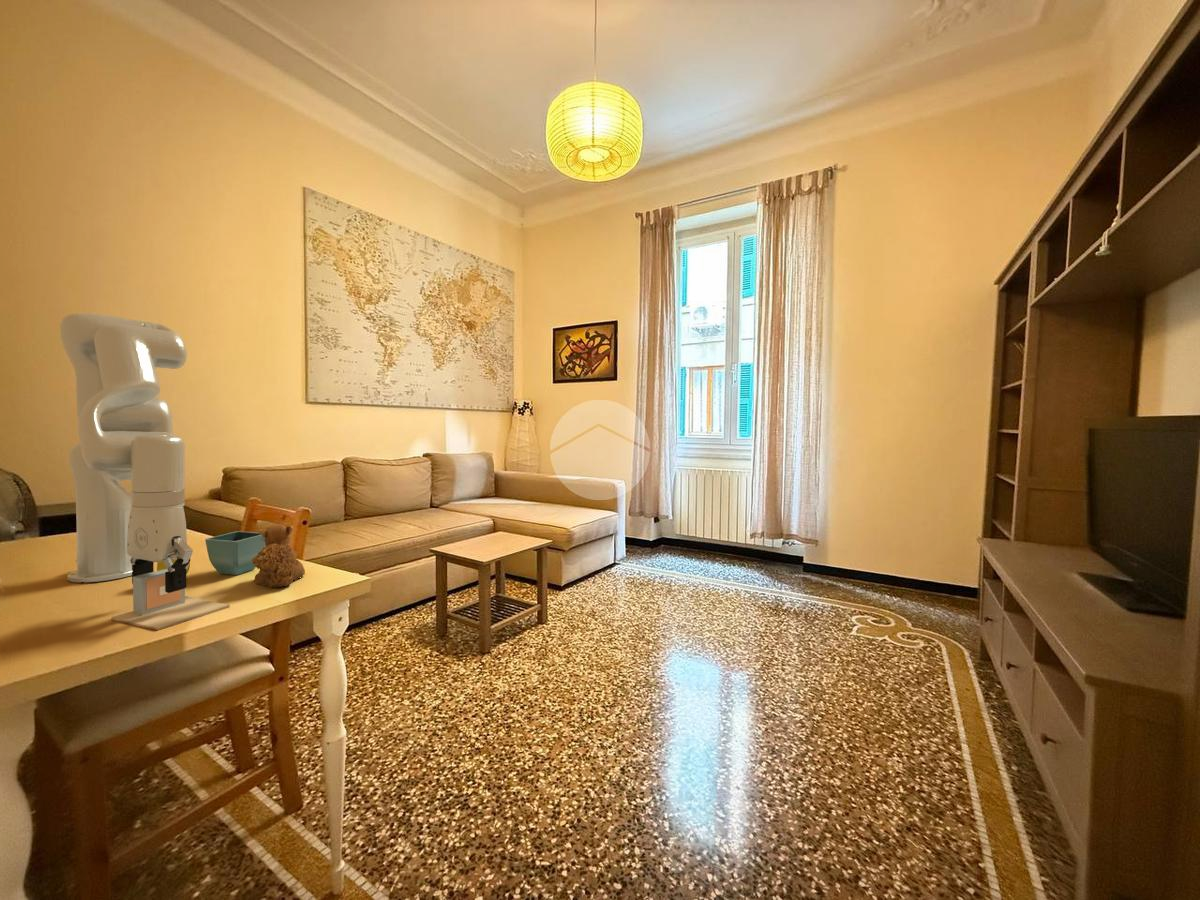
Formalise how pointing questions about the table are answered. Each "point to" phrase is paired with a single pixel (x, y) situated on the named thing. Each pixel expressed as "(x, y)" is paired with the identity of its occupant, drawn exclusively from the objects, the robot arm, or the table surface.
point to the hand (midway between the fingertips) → (159, 586)
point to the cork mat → (172, 614)
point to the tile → (153, 593)
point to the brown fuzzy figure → (277, 558)
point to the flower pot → (234, 551)
